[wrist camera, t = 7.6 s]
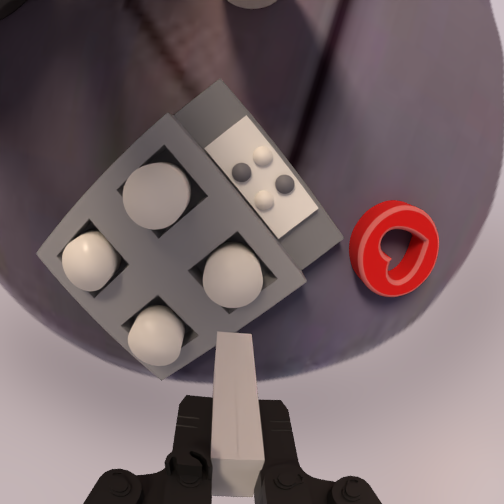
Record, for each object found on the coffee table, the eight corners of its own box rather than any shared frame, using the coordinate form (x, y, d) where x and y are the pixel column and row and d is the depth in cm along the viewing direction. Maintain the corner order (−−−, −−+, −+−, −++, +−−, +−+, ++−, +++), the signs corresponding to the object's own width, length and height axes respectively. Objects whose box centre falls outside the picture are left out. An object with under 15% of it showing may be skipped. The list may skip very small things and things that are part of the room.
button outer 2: (194, 264, 28) (190, 277, 25) (236, 230, 27) (237, 240, 24) (229, 301, 29) (229, 318, 26) (270, 271, 28) (274, 285, 25)
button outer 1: (126, 322, 28) (117, 339, 25) (159, 295, 27) (152, 311, 25) (161, 354, 30) (155, 373, 27) (195, 331, 29) (191, 349, 26)
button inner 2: (123, 189, 24) (110, 194, 21) (165, 149, 23) (156, 150, 21) (160, 231, 26) (151, 242, 23) (203, 194, 25) (199, 200, 22)
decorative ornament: (438, 241, 32) (453, 250, 29) (382, 301, 34) (394, 314, 31) (393, 180, 29) (408, 185, 26) (330, 248, 31) (339, 259, 28)
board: (57, 239, 29) (35, 253, 25) (221, 83, 25) (218, 71, 21) (168, 355, 34) (161, 380, 30) (337, 232, 30) (353, 246, 26)
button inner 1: (68, 250, 27) (53, 261, 24) (96, 218, 26) (82, 227, 23) (100, 287, 28) (88, 301, 25) (131, 257, 27) (120, 270, 24)
